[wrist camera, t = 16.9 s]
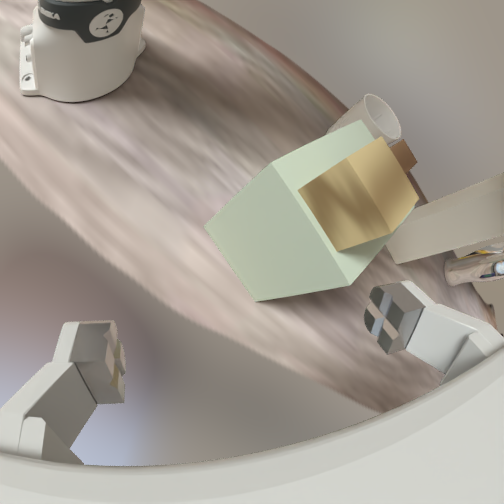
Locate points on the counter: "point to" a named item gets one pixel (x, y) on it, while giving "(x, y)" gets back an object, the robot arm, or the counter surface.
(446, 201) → the tall stand
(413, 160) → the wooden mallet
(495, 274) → the beer glass
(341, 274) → the sage pedestal
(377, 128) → the white cup
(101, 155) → the counter surface
